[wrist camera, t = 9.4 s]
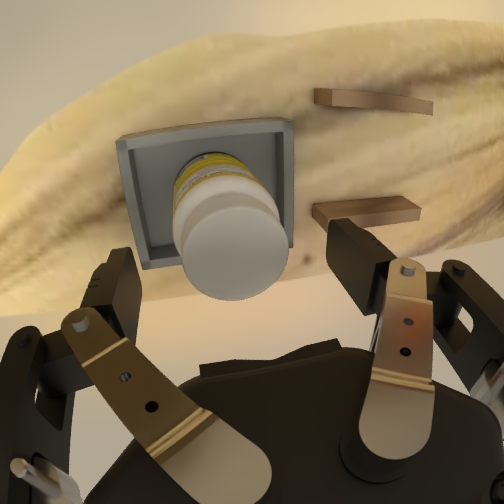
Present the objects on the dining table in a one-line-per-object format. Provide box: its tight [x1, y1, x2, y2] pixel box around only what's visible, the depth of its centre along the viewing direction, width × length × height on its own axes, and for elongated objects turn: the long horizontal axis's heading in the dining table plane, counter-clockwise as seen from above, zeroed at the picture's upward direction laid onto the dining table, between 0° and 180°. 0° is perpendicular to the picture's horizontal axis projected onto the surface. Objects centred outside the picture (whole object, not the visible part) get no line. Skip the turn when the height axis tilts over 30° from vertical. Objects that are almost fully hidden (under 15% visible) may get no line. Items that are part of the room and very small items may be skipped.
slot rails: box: [313, 88, 433, 233], centre depth 19 cm, size 8×9×2 cm
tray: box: [115, 117, 294, 270], centre depth 18 cm, size 10×8×2 cm
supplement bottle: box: [173, 151, 289, 301], centre depth 15 cm, size 5×5×8 cm
